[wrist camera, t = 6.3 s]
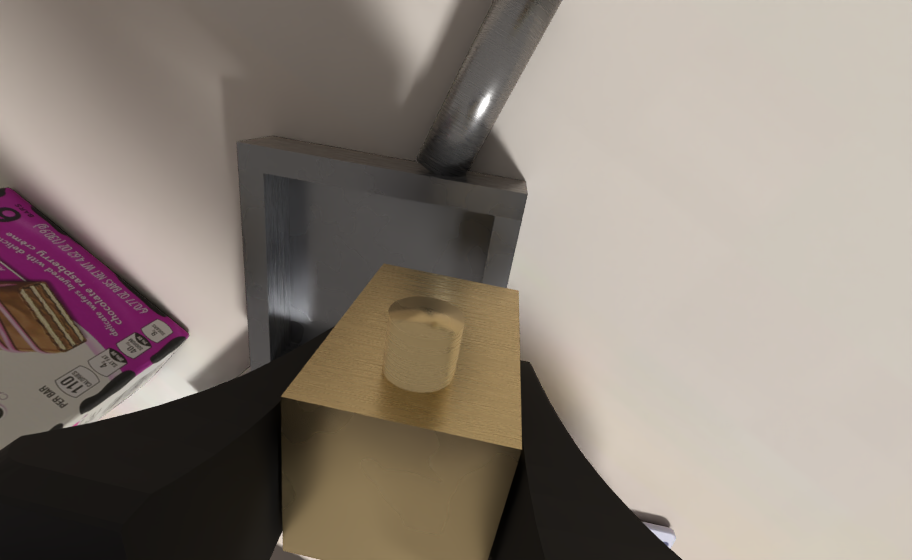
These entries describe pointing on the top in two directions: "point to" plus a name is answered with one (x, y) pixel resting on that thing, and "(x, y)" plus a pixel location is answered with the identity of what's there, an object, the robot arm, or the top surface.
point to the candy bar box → (68, 329)
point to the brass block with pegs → (405, 424)
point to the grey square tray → (357, 232)
